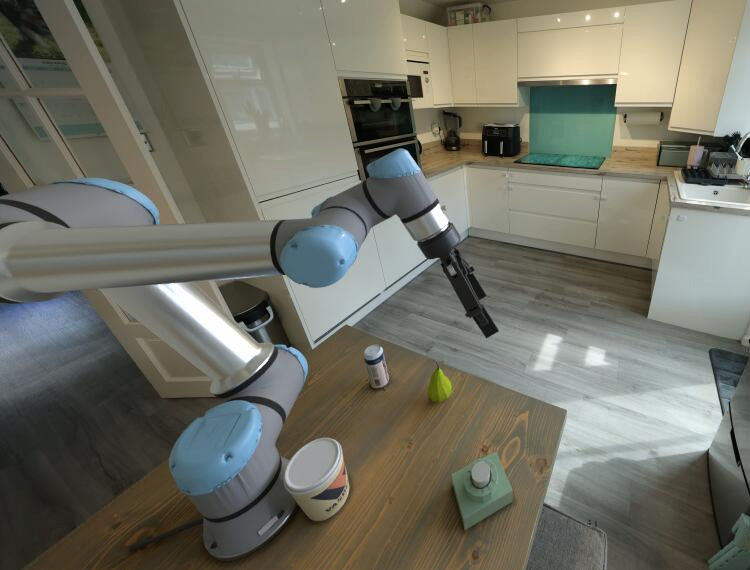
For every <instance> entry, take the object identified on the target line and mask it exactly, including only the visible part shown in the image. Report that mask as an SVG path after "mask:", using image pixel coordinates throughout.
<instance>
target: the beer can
mask: <svg viewBox="0 0 750 570" xmlns="http://www.w3.org/2000/svg"><path fill="white" fill-rule="evenodd" d="M363 359H364V363H365V367H366V371H367V375H368V378H369V382H370V386H371V387H372V388H373V389H380V388H383V387H385V386H386V385H387V384H388V383H389V381H390V376H389V371H388V367H387V362H386V358H385V354H384V349H383V347H382V346H380V345H379V344H372V345H371V344H370V345H369V346H367V347H366V348H365V350H364V352H363Z"/></svg>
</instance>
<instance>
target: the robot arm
mask: <svg viewBox="0 0 750 570" xmlns="http://www.w3.org/2000/svg"><path fill="white" fill-rule="evenodd" d="M422 170H423V169H421V168H420V167H419V165H418V164H417V162H416V161H415V160H414V158H413V157H412V155H411V154H410V152H409V151H408V150H407V149H405V148H397V149H395V150H394V151H392V152H389V153H387V154H385V155H384V156H382V157H380V158H378V159H376V160H374V161H372V162H370V163H369V164H367V166H366V171H367V173H368V176H369V177H368V178H366V179H364V180H363V181H361V182H359V183H357V184H355V185H353V186H351V187H349V188H347V189H345V190H343V191H341V192H339V193H338V194H335V195H334V196H329V197H327V198H326V199H325V200H324V201H322V202H321V203H319V204H317V205H316V206H314V207H313V208H312V209H311V212H310V214H311V217H309V218H291V219H263V220H262V219H261V220H260V219H259V220H238V221H236V220H235V221H213V222H210V221H209V222H187V223H162V224H161V223H160V222H161V221H160V218H159V216H160V212H159V210H158V208H157V206H156V205H155V203H154V202H153V201H152V200H151V199H150V198H149V197H148V196H146V195H145V194H143V193H142V192H141V191H140V190H138V189H136V188H134V187H132V186H130V185H128V184H125V183H122V182H120V181H117V180H110V179H106V178H102V177H79V178H74V179H67V180H57V181H54V182H50V183H45V184H43V185H39V186H35V187H31V188H27V189H23V190H20V191H15V192H12V193H8V194H4V195H1V196H0V306H1V305H3V306H4V305H19V304H33V303H42V302H47V301H51V300H54V299H57V298H59V297H62V296H64V295H65V294H67V293H69V292H76V291H87V290H98V291H100V292H101V293H102V294H103V295H105V296H106V297H107V298H108V299H110V300H111V301H112V302H114V303H115V304H116V305H118V307H120V308H121V309H123V311H125V312H127V314H128V315H131V317H133V318H134V319H135V320H136V321H138V322H139V323H140V324H141V325H143V326H144V327H145V328H146V329H147V330H149V331H150V332H151V333H153V334H154V335H155V336H156V337H158V338H159V339H160V340H161V341H163V342H164V343H165V344H167V346H169V347H170V348H172V349H173V350H174V351H175V352H177V353H178V354H179V355H180V356H181V357H183V358H184V359H186V360H187V361H188V362H189V363H191V364H192V365H193V366H194V367H196V368H197V369H198V370H199V371H201V372H202V373H203V374H204V375H206V376H207V377H208V378H209V379H210V380H211V382H210V385H209V392H210V393H211V394H212V395H213V396H214V397H216V398H217V399H218V400H219V401H221V404H218V405H216V406H214V407H212V408H210V409H208V410H206V411H205V414H204V416H202V417H197V418H195V419H194V420H193V421H192V422H191V423H190V424H189V425H188V426H187V427H186V428H185V429H183V431H182V432H181V434H180V435H179V436H178V438H177V440H176V441H175V443H174V445H173V447H172V448H171V451H170V454H169V459H168V469H169V472H170V474H171V476H172V477H173V480H174V484H175V486H176V487H177V488H178V490H179V491H180V492H182V493H183V494H185V496H187V498H188V499H189V500H190V502H191V503H192V504H193V505H194V507H195V508H196V509H197V510H198V512H199V513H200V515H201V516H202V517H201V518H198V519H196V520H194V521H191V522H188V523H185V524H183V525H181V526H177V527H176V528H173V529H170V530H168V531H166V532H163V533H161V534H158V535H155V536H153V537H149V538H147V539H144V540H141V541H137V542H134V543H132V544H130V546H129V551H133V550H137V549H140V548H143V547H146V546H148V545H151V544H154V543H156V542H159V541H161V540H164V539H167V538H169V537H172V536H174V535H176V534H179V533H181V532H183V531H187V530H189V529H191V528H194V527H197V526H200V525H202V539H203V540H202V541H203V545H204V547H205V549H206V551H207V552H208V553H209V555H210V556H211V557H212V558H214V559H216V560H217V561H221V562H234V561H237V560H241V559H243V558H246V557H249V556H252V555H253V554H254V553H257V552H258V551H260V550H261V549H263V548H264V547H265V546H266V545H268V544H269V543H270V542H272V541H273V540H274V539H275V538H276V537H277V536H278V535H280V533H281V532H282V531H283V530H284V528H285V527H286V526H287V525H288V524H289V523H290V521H291V520H292V518H293V517H294V515H295V514H296V512H297V510H298V508H299V507H300V506H299V505H298V503H297V502H296V500H295V499H294V498H293V496H292V495H291V493H289V492H288V491H287V490H286V488H285V486H284V474H285V471H286V468H287V465H288V463H289V462H290V460H291V459H288V458H285V457H283V456H282V455H280V453H279V450H278V449H277V446H276V442H277V439H278V438H279V435H280V434H281V431H282V429H283V428H284V425H285V423H286V421H287V419H288V417H289V415H290V413H291V411H292V410H293V406H294V404H295V402H296V401H297V398H298V396H299V394H300V393H301V392H302V390H303V388H304V385H305V382H306V378H307V375H308V372H309V365H308V362H307V359H306V357H305V355H304V354H303V353H302V352H301V351H299V350H298V349H297V348H294V347H292V346H290V347H287V345H286V344H273V343H272V342H269V341H268V342H258V341H257V340H256V339H255V338H254V337H253V336H252V335H250V334H249V332H247V331H246V330H245V329H244V328H243V327H242V326H241V325H240V324H239V323H238V322H237V321H236V320H235V319H234V318H232V317H231V315H229V314H228V312H226V311H225V310H224V309H223V308H222V307H221V306H220V305H219V304H217V302H216V301H214V300H213V299H212V298H211V296H209V295H208V293H206V291H204V290H203V289H202V288H201V287H200V286H199V285H198V284H197V283H198V282H210V281H211V282H212V281H213V282H214V281H225V280H240V279H251V278H266V277H279V276H286V277H287V278H288V279H289V280H291V281H292V282H294V283H295V284H298V285H303V286H306V287H308V288H310V289H311V288H312V289H319V288H326V287H329V286H332V285H334V284H336V283H337V282H339V281H340V280H341V279H343V278H344V276H346V274H347V272H348V270H350V269H351V267H352V266H353V265H354V263H355V262H356V259H357V257H358V253H359V251H360V249H361V247H362V245H363V244H364V242H365V240H366V238H367V237H368V234H369V233H370V231H371V229H373V228H374V227H375V226H377V225H379V224H381V223H383V222H385V221H387V220H389V219H391V218H393V217H394V216H395V215H396V216H397V217H398V218H399V220H400V222H401V223H402V225H403V227H404V228H405V230H406V231H407V232H408V234H409V236H410V237H411V238H412V240H413V241H415V242H417V243H416V246H417V247H418V249H419V250H420V251H421V253H422V255H423V256H424V257H425V258H426V259H428V260H435V259H439V260H440V262H441V263H440V266H441V268H442V272H443V273H444V274H445V276H446V278H447V279H448V281H449V282H450V285H451V287H452V288H453V290H454V292H455V294H456V296H457V297H458V299H459V301H460V303H461V305H462V307H463V309H464V310H465V312H466V313H464V316H465V317H466V318H469V319H473V321H474V322H475V324H476V325H477V327H478V328H479V330H480V331H481V333H482V334H483V336H484V337H485V340H486V339H489V338H490V337H492V336H493V335H496V333H499V332H500V330H499V328H498V327H497V325H496V323H495V322H494V320H493V318H492V316H491V315H490V314H489V312H488V310H487V309H486V307H485V306H484V304H483V303H481V302H480V301H481V300H482V299H485V298H486V297H488V296H487V294H486V292H485V290H484V289H483V287H482V285H481V284H480V282H479V280H478V279H477V277H476V275H475V274H474V272H475V271H476V270H475V267H474V266H470V264H469V262H467V260H466V259H465V257H464V256H463V254H462V253H461V251H460V249H458V247H457V246H458V245H459V244H460V242H461V239H462V237H461V234H460V233H459V232H458V230H457V228H456V226H455V224H454V223H453V222H451V221H450V217H449V215H448V214H447V212H446V211H447V210H448V206H446V205H441V202H440V200H439V199H438V196H436V194H435V192H434V190H433V188H432V187H431V185H430V183H429V181H428V180H427V178H426V177H425V174H424V173H423V171H422Z"/></svg>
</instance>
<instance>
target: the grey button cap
mask: <svg viewBox="0 0 750 570" xmlns="http://www.w3.org/2000/svg"><path fill="white" fill-rule="evenodd" d="M471 476H472V483H473V485H474V486H475V487H477V488H484V487H485V486H487V484H488V483H489V481H490V468H489V466H488V464H487V463H485V462H478V463H476V464H475V465H474V466H473V468H472V471H471Z"/></svg>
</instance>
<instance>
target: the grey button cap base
mask: <svg viewBox="0 0 750 570" xmlns="http://www.w3.org/2000/svg"><path fill="white" fill-rule="evenodd" d="M478 462H485V463H487V464H488V466H489V468H490V481H489V483H488V484H487V486H485V487H484V488H477V487H475V486H474V485H473V483H472V476H471V471H472V468H473V466H474V465H475V464H476V463H478ZM506 473H507V472H506V471H505V468H504V467H503V464H502V461H501V459H500V457H499V454H498V451H494V452H491V453H489V454H488V455H486V456H484V457H479V458H477V459H475V460H473V461H470V463H469V464H468V465H466V466H464V467H463V468H461V469H459V470H457V471H455V472H453V473H451V474H450V477H451V485H452V488H453V492H454V496H455V499H456V504H457V507H458V511H459V514H460V518H461V521H462V526H463V530H464V531H466V530H468V529H469V528H471V527H472V526H474V525H476V524H478V523H479V522H481V521H483V520H484V519H486V518H487V517H489V516H491V515H493V514H494V513H496V512H497V511H499V510H501V509H503V508H504V507H507V506H508V505H509V504H511V503H513V499H514V498H513V497H514V491H513V488H512V485H511V482H510V481H509V478H508V475H507V474H506Z"/></svg>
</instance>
